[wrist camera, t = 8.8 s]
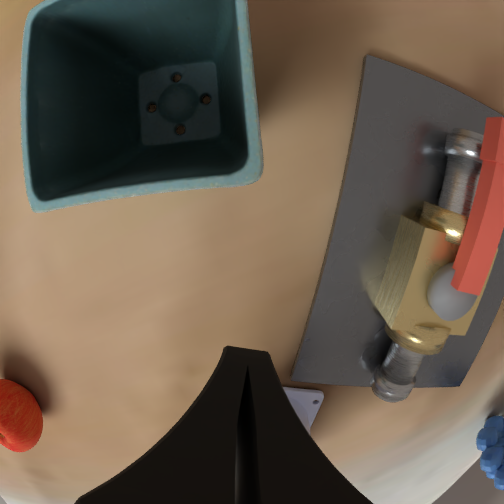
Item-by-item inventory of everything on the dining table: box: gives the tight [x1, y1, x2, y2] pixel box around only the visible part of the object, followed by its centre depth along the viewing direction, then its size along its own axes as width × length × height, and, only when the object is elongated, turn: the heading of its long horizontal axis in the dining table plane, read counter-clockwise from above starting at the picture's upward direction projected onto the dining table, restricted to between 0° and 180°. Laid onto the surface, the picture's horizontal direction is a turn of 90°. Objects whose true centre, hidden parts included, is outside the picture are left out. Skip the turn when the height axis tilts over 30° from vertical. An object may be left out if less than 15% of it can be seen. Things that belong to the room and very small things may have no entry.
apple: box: [0, 379, 43, 452], centre depth 21 cm, size 8×8×8 cm
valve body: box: [290, 55, 504, 402], centre depth 17 cm, size 22×16×4 cm
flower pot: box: [20, 0, 263, 213], centre depth 12 cm, size 9×9×9 cm
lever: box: [427, 117, 504, 321], centre depth 13 cm, size 11×3×2 cm, turn 168°
